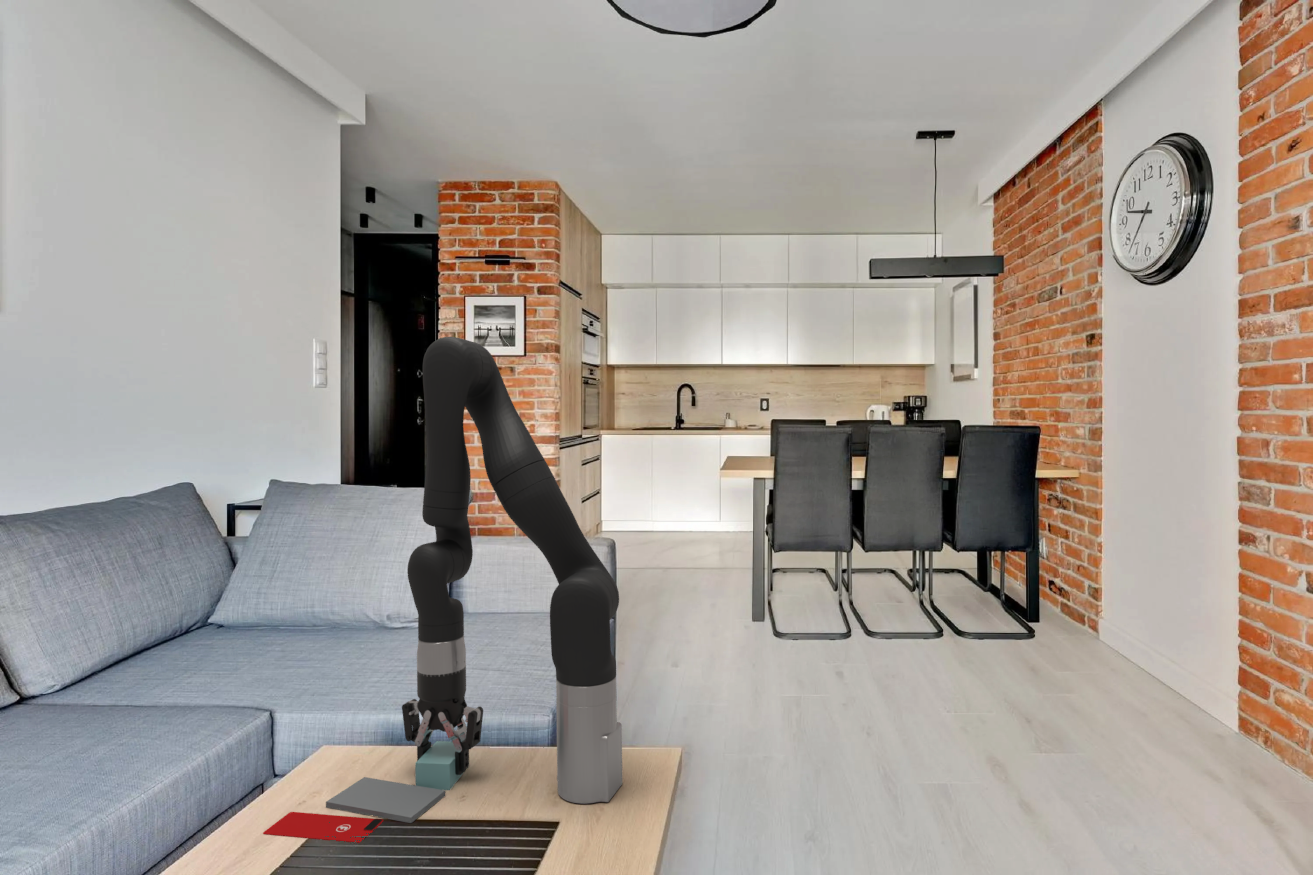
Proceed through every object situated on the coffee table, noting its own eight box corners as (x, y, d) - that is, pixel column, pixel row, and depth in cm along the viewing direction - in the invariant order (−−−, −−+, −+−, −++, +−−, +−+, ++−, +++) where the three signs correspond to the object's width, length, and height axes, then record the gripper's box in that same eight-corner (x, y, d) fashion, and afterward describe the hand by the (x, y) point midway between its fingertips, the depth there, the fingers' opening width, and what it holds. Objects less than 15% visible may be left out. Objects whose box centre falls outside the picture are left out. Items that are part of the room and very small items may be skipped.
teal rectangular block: (469, 766, 116) (468, 741, 116) (449, 790, 108) (449, 764, 108) (437, 765, 116) (436, 740, 116) (415, 788, 108) (415, 762, 108)
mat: (445, 795, 106) (445, 790, 106) (411, 822, 98) (411, 817, 98) (364, 781, 111) (364, 776, 111) (325, 807, 103) (325, 801, 103)
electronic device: (261, 836, 96) (360, 846, 93) (261, 832, 96) (360, 841, 94) (290, 814, 102) (384, 822, 99) (290, 810, 102) (384, 818, 99)
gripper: (493, 661, 113) (494, 765, 113) (418, 654, 118) (420, 754, 118) (467, 676, 106) (468, 787, 106) (388, 668, 111) (389, 774, 111)
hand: (442, 769), depth 112 cm, fingers closed on teal rectangular block, 6 cm apart
